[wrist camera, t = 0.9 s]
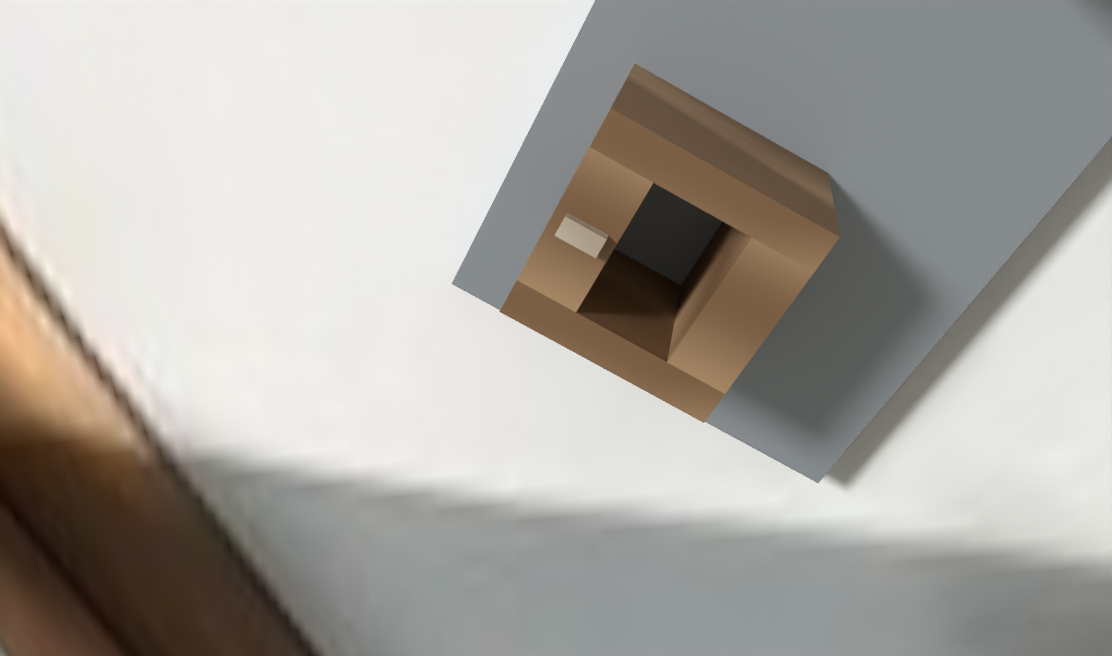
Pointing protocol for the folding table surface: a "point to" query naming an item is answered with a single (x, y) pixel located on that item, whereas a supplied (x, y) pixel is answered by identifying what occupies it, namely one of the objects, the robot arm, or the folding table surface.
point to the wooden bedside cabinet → (718, 275)
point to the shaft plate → (836, 173)
